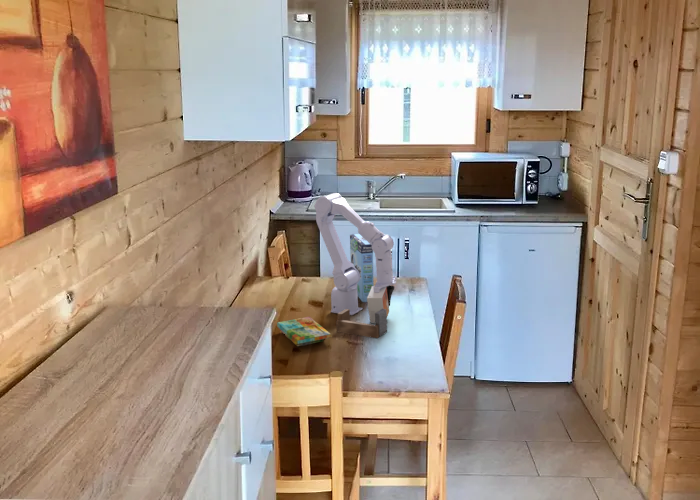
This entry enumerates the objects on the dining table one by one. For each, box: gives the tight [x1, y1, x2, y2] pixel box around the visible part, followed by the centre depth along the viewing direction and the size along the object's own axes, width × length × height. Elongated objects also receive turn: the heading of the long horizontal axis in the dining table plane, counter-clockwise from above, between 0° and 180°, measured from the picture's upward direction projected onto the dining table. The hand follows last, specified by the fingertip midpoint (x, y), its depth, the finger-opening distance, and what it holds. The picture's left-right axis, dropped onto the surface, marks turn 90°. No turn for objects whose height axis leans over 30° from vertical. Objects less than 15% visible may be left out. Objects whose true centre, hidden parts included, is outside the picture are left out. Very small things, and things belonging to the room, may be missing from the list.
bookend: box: [374, 309, 388, 338], centre depth 236 cm, size 2×6×8 cm, turn 150°
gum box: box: [349, 233, 375, 303], centre depth 278 cm, size 20×5×23 cm, turn 13°
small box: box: [366, 285, 390, 324], centre depth 248 cm, size 8×6×10 cm
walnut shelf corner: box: [335, 309, 380, 339], centre depth 239 cm, size 16×7×6 cm, turn 60°
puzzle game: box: [276, 316, 332, 347], centre depth 235 cm, size 12×5×20 cm
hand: (386, 306), depth 253 cm, fingers closed, pressing on small box
